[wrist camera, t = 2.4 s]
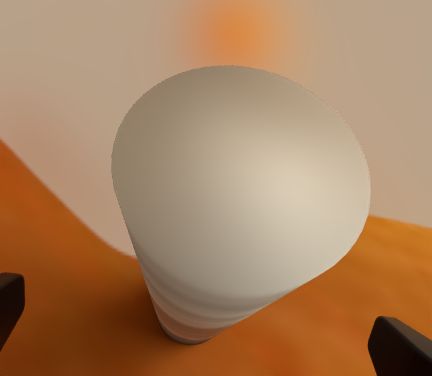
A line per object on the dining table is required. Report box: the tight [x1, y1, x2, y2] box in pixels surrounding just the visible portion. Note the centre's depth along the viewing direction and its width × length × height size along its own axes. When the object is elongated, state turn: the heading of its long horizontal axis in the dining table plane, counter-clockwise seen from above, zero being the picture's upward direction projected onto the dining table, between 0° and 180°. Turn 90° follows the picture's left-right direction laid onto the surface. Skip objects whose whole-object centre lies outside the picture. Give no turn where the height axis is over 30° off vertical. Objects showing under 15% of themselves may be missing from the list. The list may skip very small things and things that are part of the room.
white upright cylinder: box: [112, 66, 371, 345], centre depth 11 cm, size 4×4×14 cm
